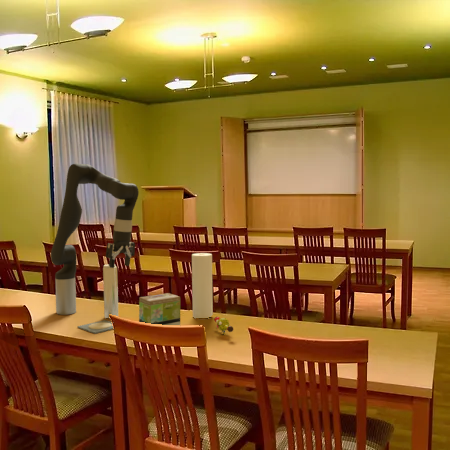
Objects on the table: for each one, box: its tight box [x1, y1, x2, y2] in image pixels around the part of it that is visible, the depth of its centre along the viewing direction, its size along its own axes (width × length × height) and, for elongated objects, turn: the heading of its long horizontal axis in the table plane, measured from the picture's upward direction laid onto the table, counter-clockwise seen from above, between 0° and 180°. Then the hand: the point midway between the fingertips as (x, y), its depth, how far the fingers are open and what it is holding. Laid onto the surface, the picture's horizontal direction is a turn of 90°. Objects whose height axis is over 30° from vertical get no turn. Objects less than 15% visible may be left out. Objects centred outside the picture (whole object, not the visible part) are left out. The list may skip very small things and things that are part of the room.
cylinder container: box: [191, 252, 214, 319], centre depth 239 cm, size 9×9×30 cm
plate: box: [77, 319, 114, 335], centre depth 223 cm, size 14×14×1 cm
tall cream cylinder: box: [102, 263, 119, 320], centre depth 239 cm, size 6×6×25 cm
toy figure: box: [213, 316, 234, 335], centre depth 211 cm, size 18×6×7 cm, turn 21°
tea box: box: [138, 292, 181, 326], centre depth 217 cm, size 15×10×15 cm, turn 129°
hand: (119, 266), depth 220 cm, fingers open, 8 cm apart
